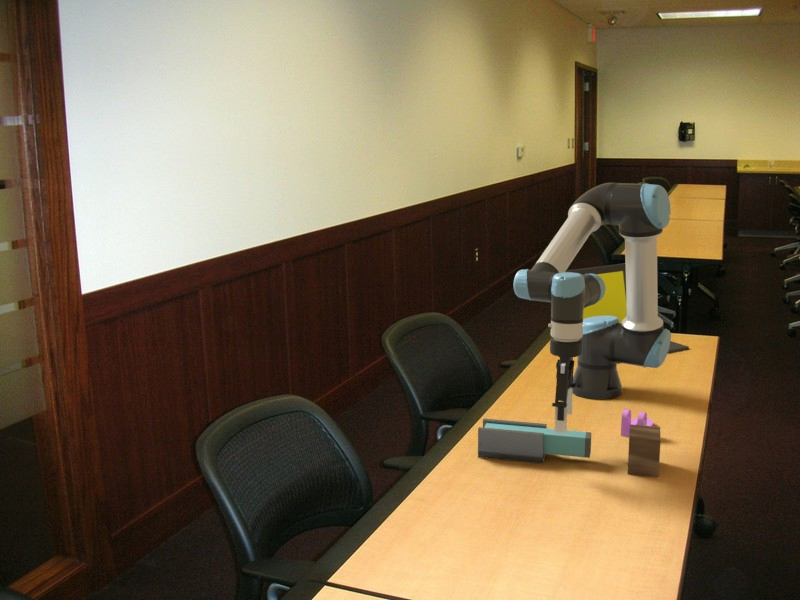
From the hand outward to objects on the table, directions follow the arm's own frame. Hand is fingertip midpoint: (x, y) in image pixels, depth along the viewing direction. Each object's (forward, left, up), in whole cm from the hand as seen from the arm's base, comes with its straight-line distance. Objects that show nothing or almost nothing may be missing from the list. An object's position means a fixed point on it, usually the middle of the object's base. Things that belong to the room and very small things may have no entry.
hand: (563, 422), depth 202 cm
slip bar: (0, -6, -8) cm, 10 cm away
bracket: (-25, +18, -10) cm, 32 cm away
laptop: (-110, +9, -10) cm, 110 cm away
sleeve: (0, -12, -10) cm, 16 cm away
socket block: (0, +19, -10) cm, 22 cm away
